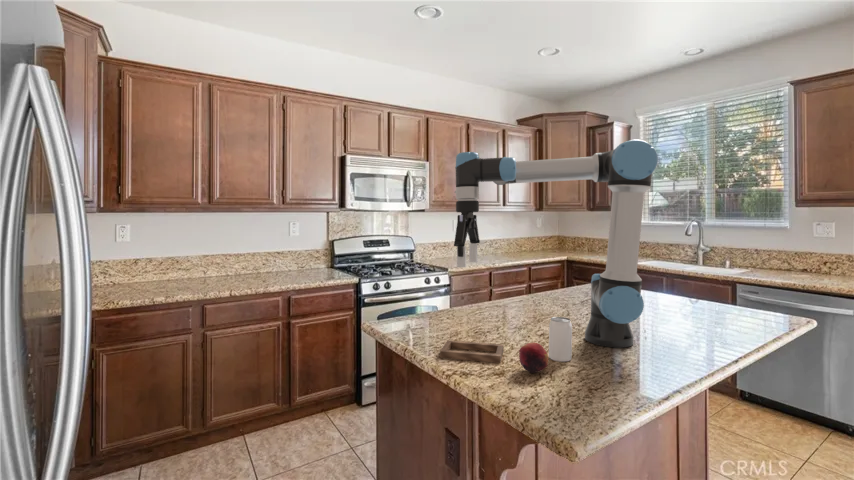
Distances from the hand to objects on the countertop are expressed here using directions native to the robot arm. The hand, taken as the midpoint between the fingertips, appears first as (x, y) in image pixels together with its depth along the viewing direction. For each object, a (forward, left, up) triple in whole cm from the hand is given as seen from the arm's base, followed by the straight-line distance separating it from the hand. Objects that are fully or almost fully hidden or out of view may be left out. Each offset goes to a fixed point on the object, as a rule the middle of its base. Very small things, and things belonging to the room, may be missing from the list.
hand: (467, 264), depth 136 cm
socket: (-3, +10, -27) cm, 29 cm away
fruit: (-22, +21, -27) cm, 40 cm away
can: (-29, +8, -27) cm, 40 cm away
